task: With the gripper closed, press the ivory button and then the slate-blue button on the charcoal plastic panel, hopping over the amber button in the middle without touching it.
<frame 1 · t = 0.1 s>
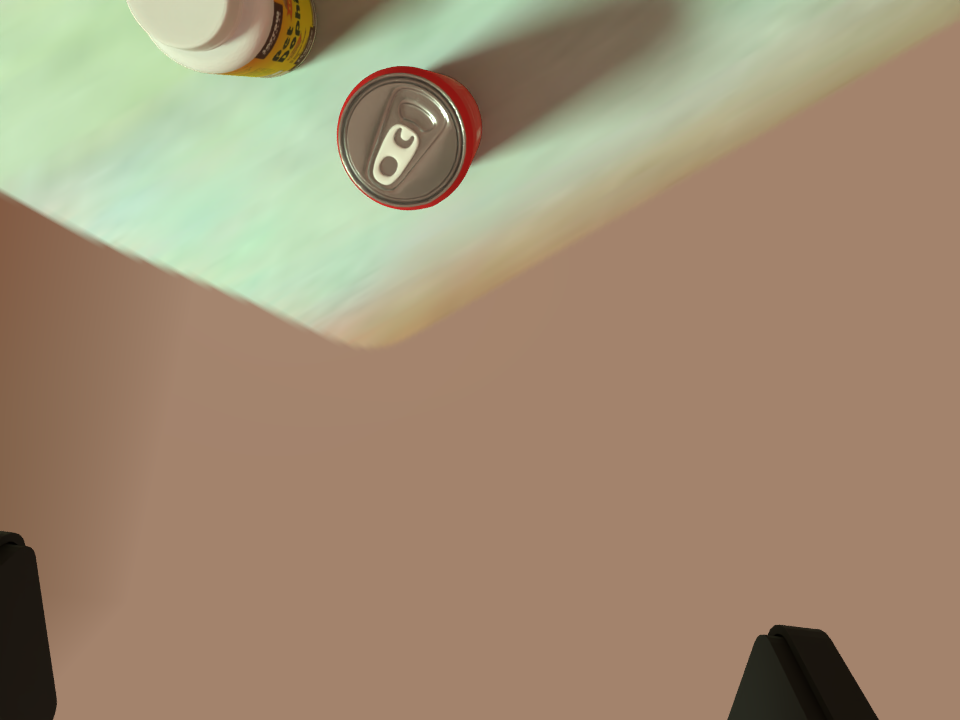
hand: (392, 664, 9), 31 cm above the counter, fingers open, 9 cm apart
beverage can: (433, 126, 36), on the counter
supplement bottle: (266, 18, 35), on the counter
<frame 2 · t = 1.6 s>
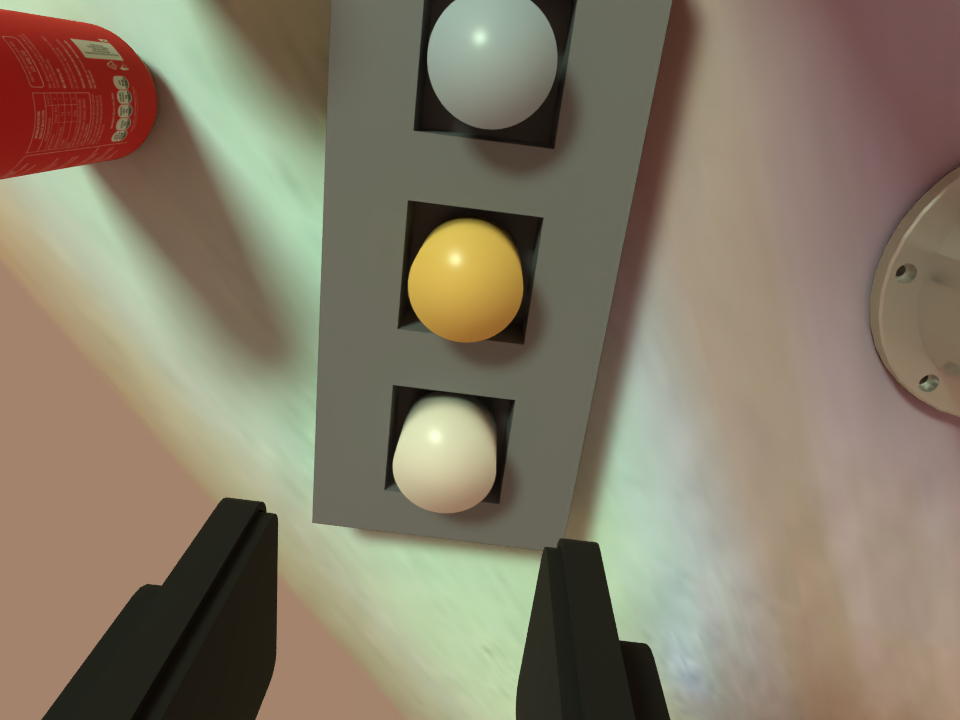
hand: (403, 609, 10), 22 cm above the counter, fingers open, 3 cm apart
ivory button: (447, 449, 30), point 3 cm above the counter, slide at 0.0 cm
beverage can: (108, 93, 29), on the counter
slate button: (492, 62, 25), point 3 cm above the counter, slide at 0.0 cm
amber button: (467, 277, 27), point 3 cm above the counter, slide at 0.0 cm
panel: (471, 258, 31), on the counter
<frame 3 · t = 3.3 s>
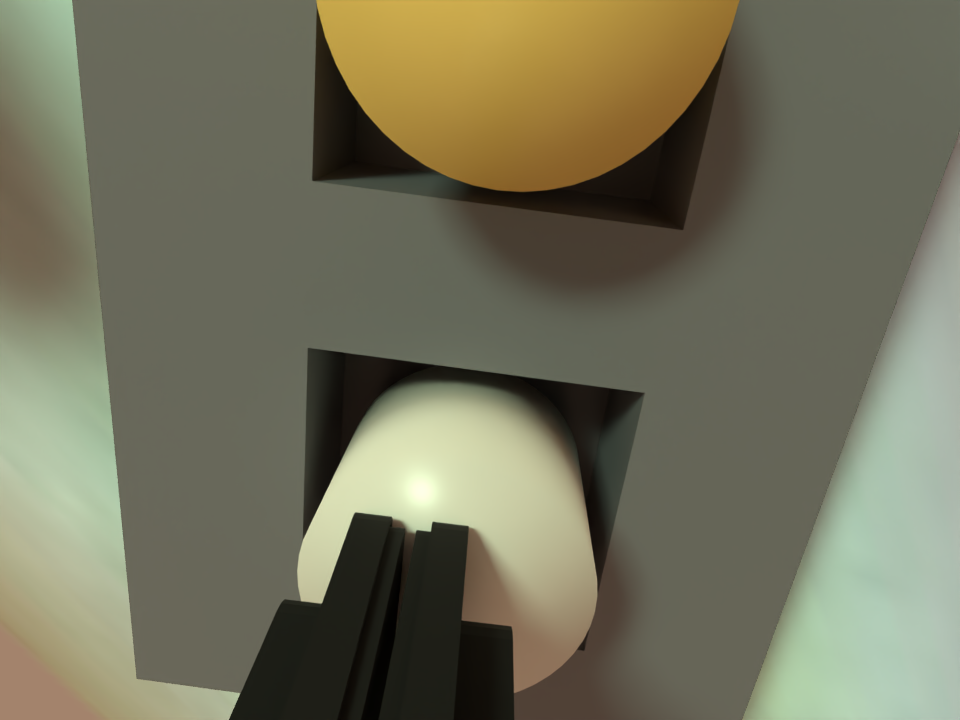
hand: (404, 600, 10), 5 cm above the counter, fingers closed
ivory button: (456, 522, 12), point 3 cm above the counter, slide at 0.0 cm, touching gripper
panel: (523, 17, 12), on the counter
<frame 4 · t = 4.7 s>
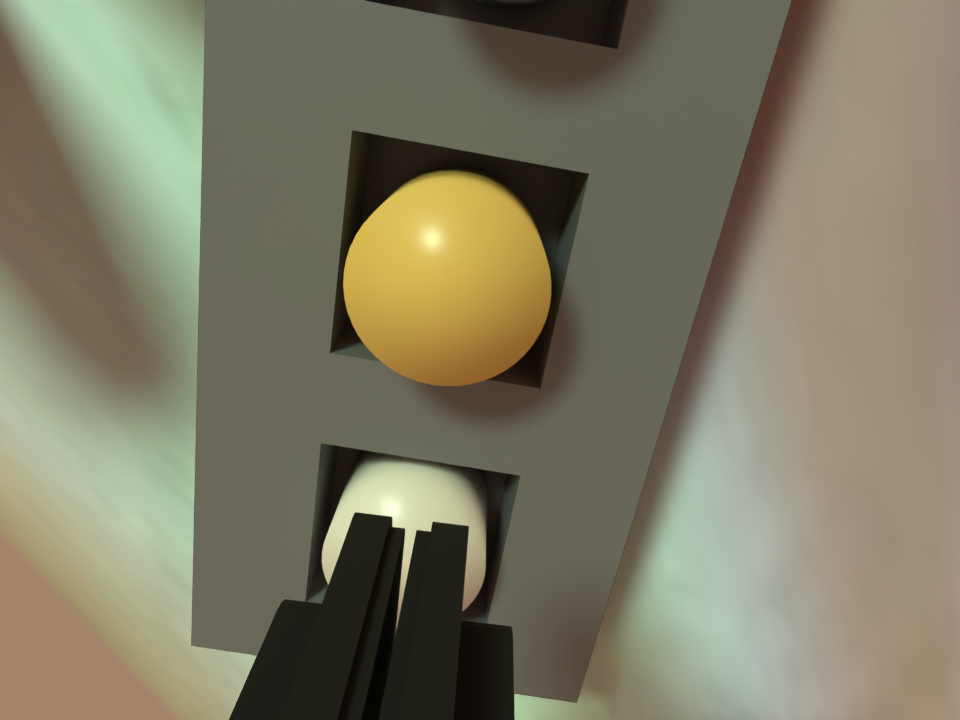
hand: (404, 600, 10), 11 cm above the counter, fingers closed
ivory button: (410, 527, 20), point 2 cm above the counter, slide at 1.0 cm
amber button: (451, 271, 16), point 3 cm above the counter, slide at 0.0 cm
panel: (458, 242, 19), on the counter
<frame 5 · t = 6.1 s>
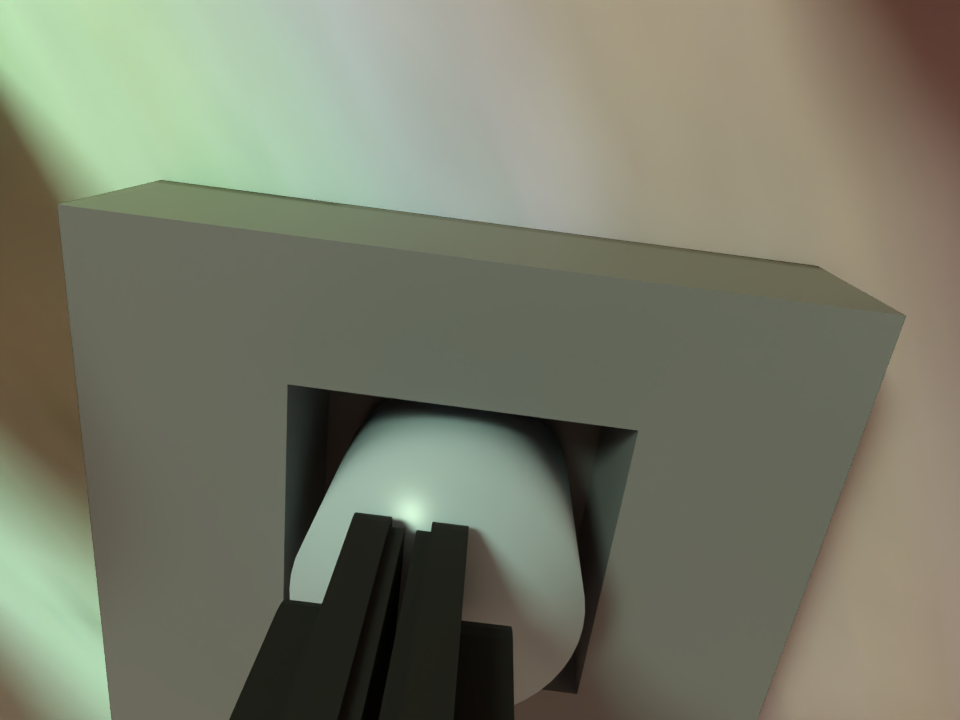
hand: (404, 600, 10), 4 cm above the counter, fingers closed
slate button: (446, 539, 12), point 3 cm above the counter, slide at 0.7 cm, touching gripper
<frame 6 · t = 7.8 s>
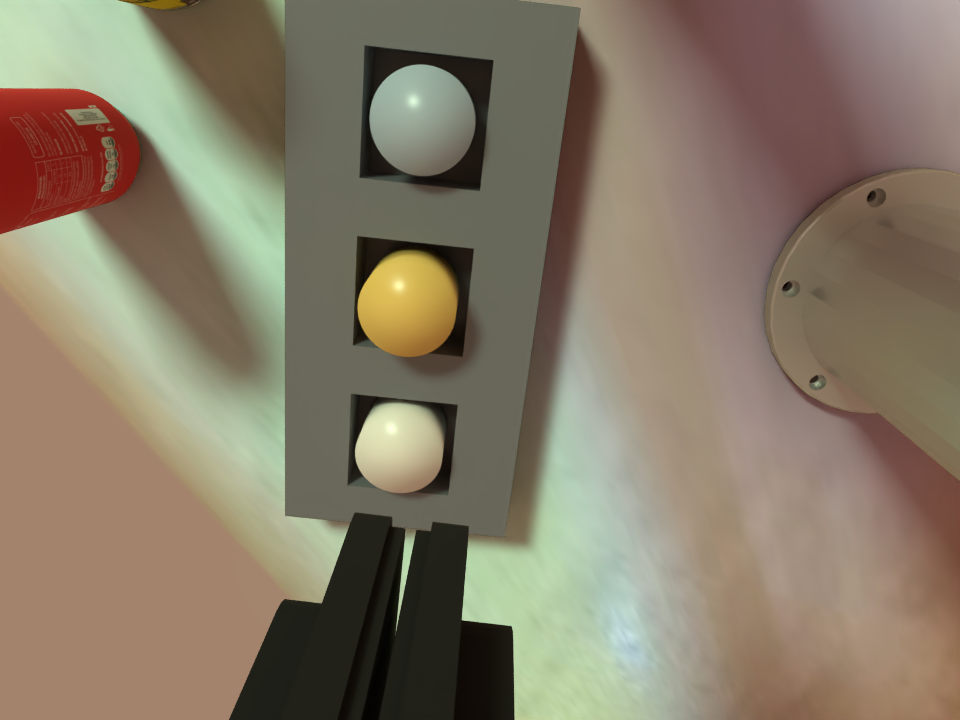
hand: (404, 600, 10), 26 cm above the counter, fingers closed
ivory button: (402, 439, 36), point 2 cm above the counter, slide at 1.0 cm
beverage can: (97, 146, 33), on the counter
slate button: (425, 120, 30), point 2 cm above the counter, slide at 1.0 cm
amber button: (410, 300, 32), point 3 cm above the counter, slide at 0.0 cm
panel: (418, 281, 35), on the counter
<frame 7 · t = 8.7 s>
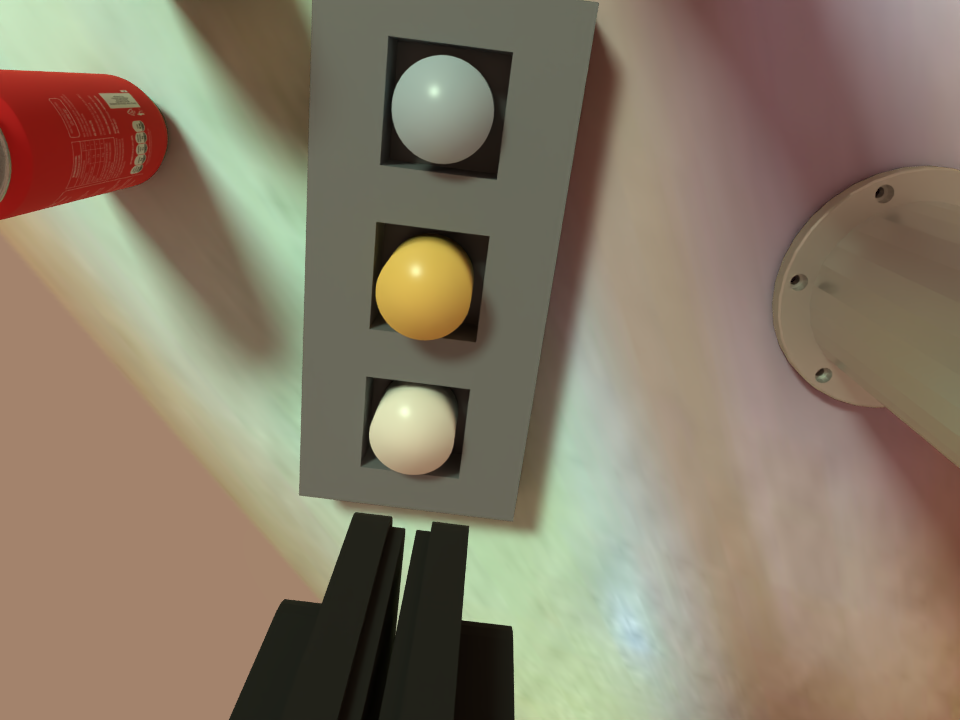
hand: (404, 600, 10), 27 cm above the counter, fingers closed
ivory button: (415, 423, 37), point 2 cm above the counter, slide at 1.0 cm
beverage can: (126, 130, 34), on the counter
slate button: (445, 110, 31), point 2 cm above the counter, slide at 1.0 cm
amber button: (427, 285, 33), point 3 cm above the counter, slide at 0.0 cm
panel: (433, 269, 36), on the counter
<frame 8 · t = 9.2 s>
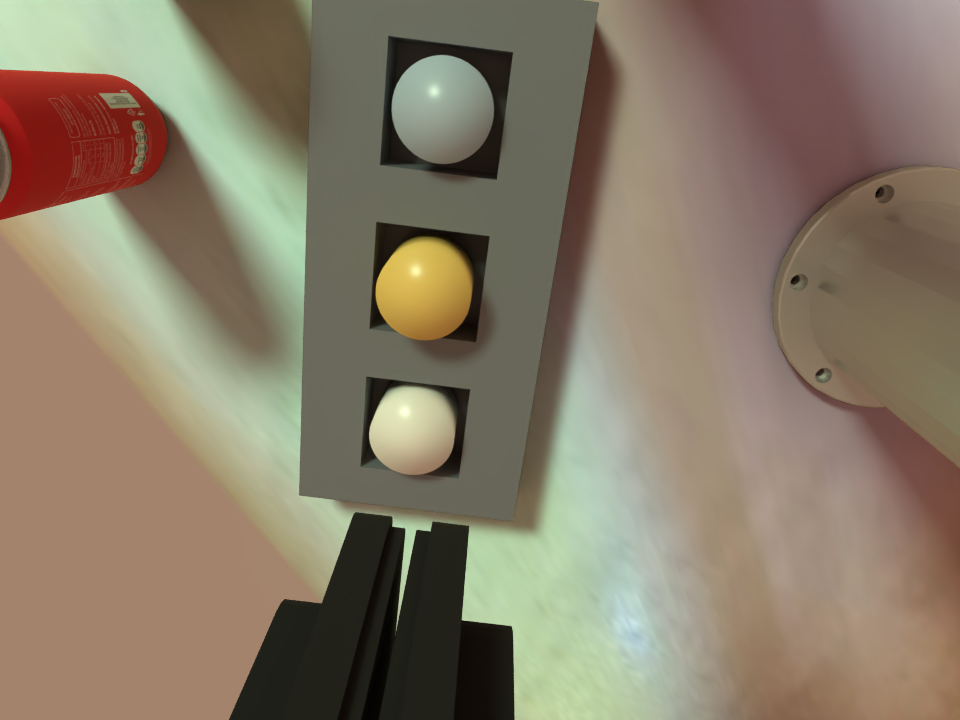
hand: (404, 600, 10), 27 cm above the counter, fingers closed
ivory button: (415, 423, 37), point 2 cm above the counter, slide at 1.0 cm
beverage can: (126, 130, 34), on the counter
slate button: (445, 110, 31), point 2 cm above the counter, slide at 1.0 cm
amber button: (427, 285, 33), point 3 cm above the counter, slide at 0.0 cm
panel: (433, 269, 36), on the counter
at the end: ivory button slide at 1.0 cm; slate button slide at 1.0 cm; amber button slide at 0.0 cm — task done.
